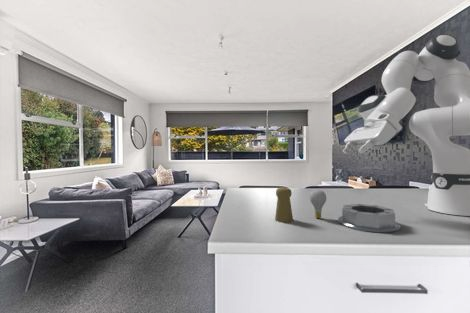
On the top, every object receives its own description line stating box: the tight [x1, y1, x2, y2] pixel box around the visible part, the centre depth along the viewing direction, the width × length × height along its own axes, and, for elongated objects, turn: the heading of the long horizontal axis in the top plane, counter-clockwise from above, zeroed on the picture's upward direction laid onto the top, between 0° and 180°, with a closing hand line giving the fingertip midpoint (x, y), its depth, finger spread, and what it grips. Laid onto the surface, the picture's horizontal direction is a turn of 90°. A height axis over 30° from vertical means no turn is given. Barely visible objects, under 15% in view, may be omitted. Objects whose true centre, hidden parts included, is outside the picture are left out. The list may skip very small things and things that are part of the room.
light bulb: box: [309, 189, 327, 219], centre depth 80 cm, size 6×6×10 cm
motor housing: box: [337, 203, 401, 234], centre depth 74 cm, size 17×17×5 cm
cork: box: [274, 187, 294, 224], centre depth 79 cm, size 6×6×11 cm
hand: (351, 152), depth 82 cm, fingers open, 8 cm apart
